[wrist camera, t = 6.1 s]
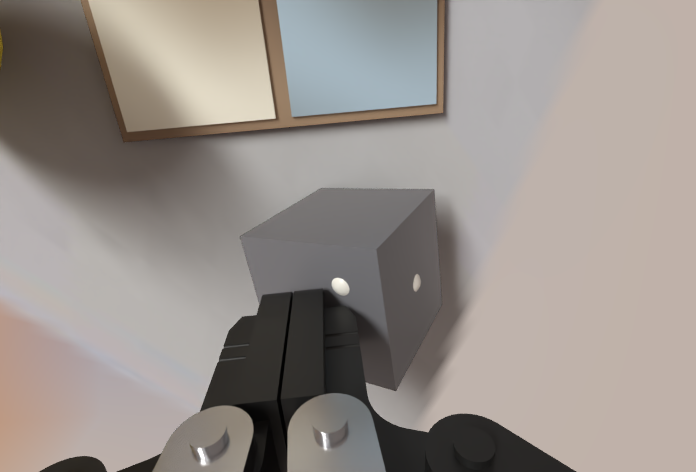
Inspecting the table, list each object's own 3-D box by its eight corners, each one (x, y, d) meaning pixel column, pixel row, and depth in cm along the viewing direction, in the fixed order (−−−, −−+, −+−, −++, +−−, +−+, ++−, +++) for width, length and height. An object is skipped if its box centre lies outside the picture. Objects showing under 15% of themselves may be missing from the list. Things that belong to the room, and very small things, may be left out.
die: (237, 237, 10) (378, 251, 8) (322, 187, 13) (438, 188, 11) (272, 360, 12) (398, 398, 10) (341, 288, 15) (445, 305, 13)
